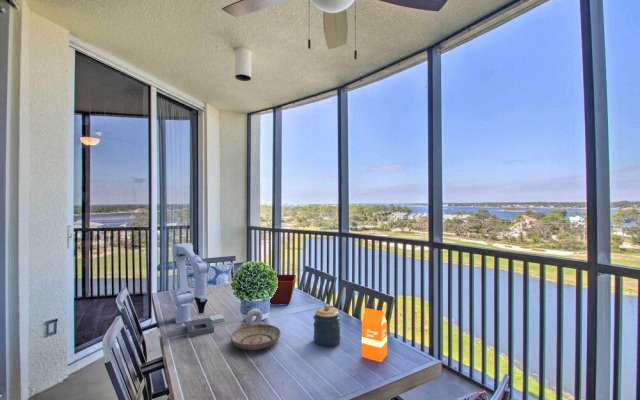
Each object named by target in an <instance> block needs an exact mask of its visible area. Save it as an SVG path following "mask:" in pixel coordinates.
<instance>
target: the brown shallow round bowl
mask: <svg viewBox="0 0 640 400" xmlns="http://www.w3.org/2000/svg"><path fill="white" fill-rule="evenodd" d="M280 337H281V329H280V328H279V327H277V326H275V325H271V324H267V323H266V324H265V323H260V324H257V325H249V326H247V325H245V326H242V327H239V328H238V329H235V331H233V332H232V333H231V336H230V340H231V341H230V342H232V344H233V345H234V346H236V347H237V348H239V349H243V350H248V351H256V350H262V349H265V348H268V347H269V346H271V345H274V344H275V343H276V342H277V341H278V340H279V339H280Z"/></svg>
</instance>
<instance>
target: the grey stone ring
mask: <svg viewBox="0 0 640 400" xmlns="http://www.w3.org/2000/svg"><path fill="white" fill-rule="evenodd" d="M254 316H255V319H254V320H253V318H254ZM262 320H263V312H262V311H261V310H260V308H251V309H250V310H249V311H248V312H247V314H246V316H245V324H246V326H249V325H257V324H261V322H262Z"/></svg>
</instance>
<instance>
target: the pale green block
mask: <svg viewBox="0 0 640 400" xmlns="http://www.w3.org/2000/svg"><path fill="white" fill-rule="evenodd" d="M208 318H209V319H210V321H211V323H212V325H213V324H218V323H224V322H225V317H224V315H223V314H222V313H220V314H219V313H218V314H216V315H215V314H214V315H209V317H208Z"/></svg>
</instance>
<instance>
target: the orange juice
mask: <svg viewBox="0 0 640 400" xmlns="http://www.w3.org/2000/svg"><path fill="white" fill-rule="evenodd" d="M387 356H388V321H387V318H386V314H385V312H384V311H383V310H378V309H372V308H368V307H365V309H364V313H363V318H362V322H361V357H362V358H366V359H368V360H372V361H376V362H379V363H382V362H383V360H384V359H385V358H386V357H387Z"/></svg>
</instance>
